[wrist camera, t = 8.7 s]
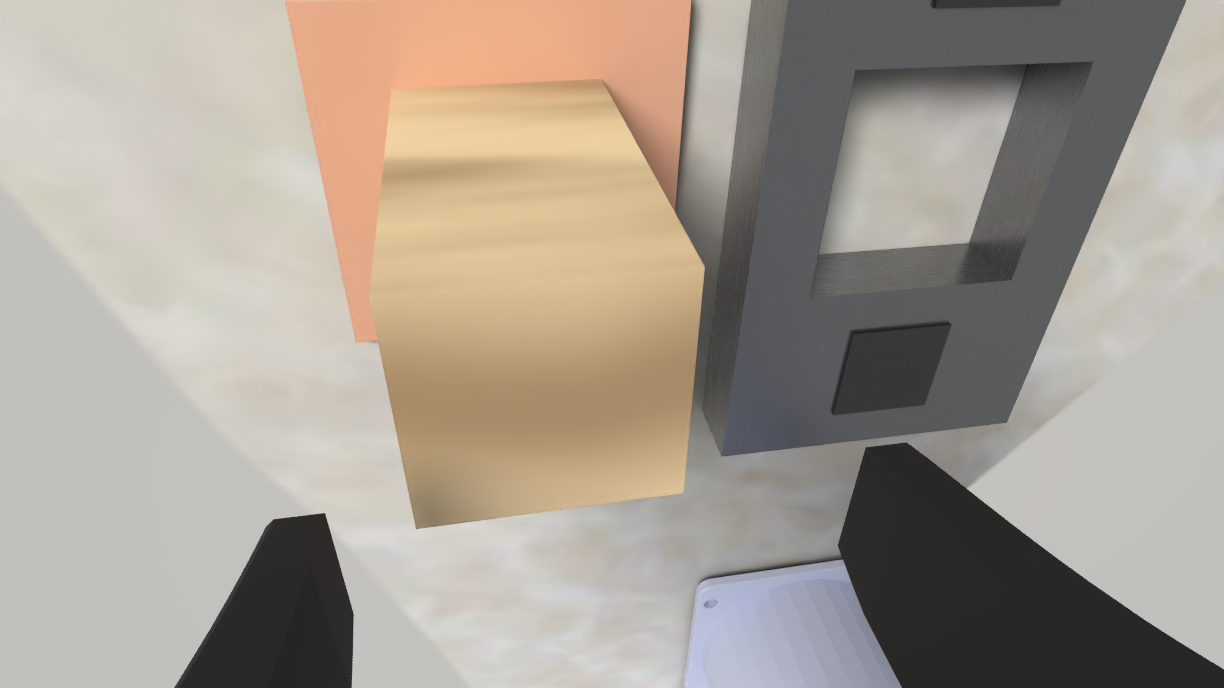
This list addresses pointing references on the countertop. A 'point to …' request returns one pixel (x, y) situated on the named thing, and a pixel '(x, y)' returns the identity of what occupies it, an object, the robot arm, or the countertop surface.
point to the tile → (471, 55)
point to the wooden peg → (530, 303)
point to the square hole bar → (922, 276)
